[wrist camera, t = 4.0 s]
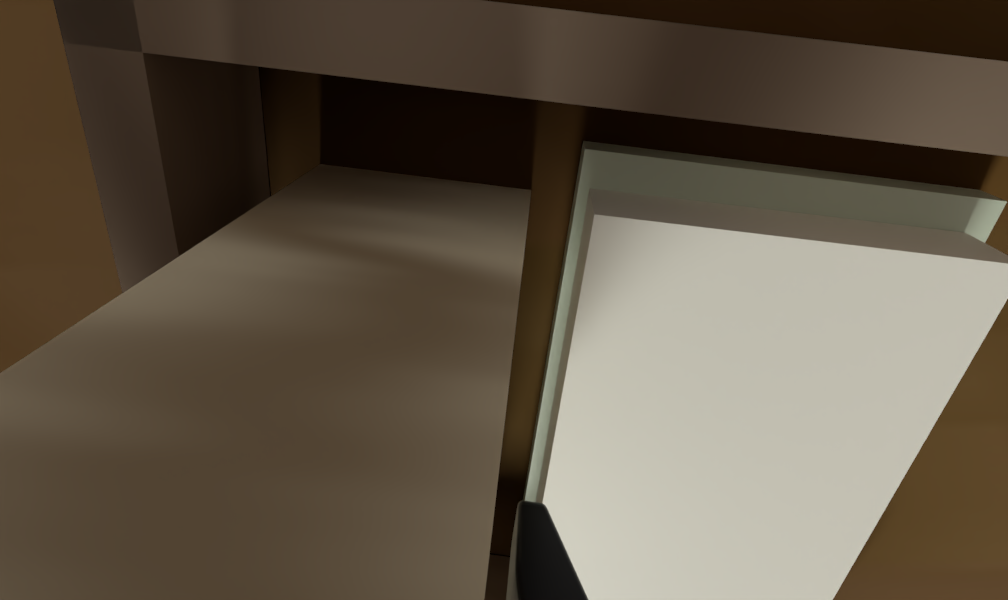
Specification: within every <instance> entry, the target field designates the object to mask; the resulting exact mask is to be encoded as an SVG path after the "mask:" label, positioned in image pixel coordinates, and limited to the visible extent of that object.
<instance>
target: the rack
mask: <svg viewBox="0 0 1008 600" xmlns="http://www.w3.org/2000/svg"><path fill="white" fill-rule="evenodd" d="M53 1H54V5H55V9H56V14H57V18H58V22H59V26H60V30H61V35H62V39H63V43H64V47H65V52H66V56H67V60H68V64H69V69H70V73H71V77H72V81H73V85H74V90H75V94H76V98H77V102H78V107H79V111H80V115H81V119H82V124H83V128H84V132H85V136H86V140H87V145H88V149H89V153H90V157H91V162H92V166H93V170H94V174H95V179H96V183H97V187H98V191H99V195H100V200H101V204H102V208H103V212H104V217H105V221H106V225H107V229H108V234H109V238H110V242H111V246H112V251H113V255H114V259H115V263H116V267H117V272H118V276H119V280H120V284H121V289H122V293H124V292H125V291H127V290H128V289H130V288H131V287H133V286H135V285H136V284H138V283H139V282H141V281H142V280H144V279H145V278H147V277H148V276H150V275H151V274H153V273H154V272H156V271H157V270H159V269H160V268H162V267H164V266H165V265H167V264H168V263H170V262H171V261H173V260H174V259H176V258H177V257H179V256H180V255H182V254H183V253H185V252H186V251H188V250H190V249H191V248H193V247H194V246H196V245H197V244H199V243H200V242H202V241H203V240H205V239H206V238H208V237H209V236H211V235H212V234H214V233H216V232H217V231H219V230H220V229H222V228H223V227H225V226H226V225H228V224H229V223H231V222H232V221H234V220H235V219H237V218H238V217H240V216H242V215H243V214H245V213H246V212H248V211H249V210H251V209H252V208H254V207H255V206H257V205H258V204H260V203H261V202H263V201H264V200H266V199H268V198H269V197H270V188H269V177H268V166H267V156H266V145H265V134H264V123H263V112H262V101H261V90H260V79H259V68H258V66H259V67H267V68H275V69H284V70H292V71H300V72H309V73H317V74H325V75H333V76H342V77H350V78H358V79H367V80H375V81H383V82H392V83H400V84H408V85H417V86H425V87H433V88H442V89H450V90H458V91H467V92H475V93H483V94H492V95H500V96H508V97H516V98H525V99H533V100H541V101H550V102H558V103H566V104H575V105H583V106H591V107H600V108H608V109H616V110H625V111H633V112H641V113H649V114H658V115H666V116H674V117H683V118H691V119H699V120H708V121H716V122H724V123H733V124H741V125H749V126H758V127H766V128H774V129H783V130H791V131H799V132H807V133H816V134H824V135H832V136H841V137H849V138H857V139H866V140H874V141H882V142H891V143H899V144H907V145H916V146H924V147H932V148H941V149H949V150H957V151H965V152H974V153H982V154H990V155H999V156H1007V157H1008V62H1007V61H998V60H990V59H981V58H972V57H964V56H955V55H947V54H938V53H930V52H921V51H913V50H904V49H895V48H887V47H878V46H870V45H861V44H853V43H844V42H836V41H827V40H818V39H810V38H801V37H793V36H784V35H776V34H767V33H759V32H750V31H741V30H733V29H724V28H716V27H707V26H699V25H690V24H681V23H673V22H664V21H656V20H647V19H639V18H630V17H622V16H613V15H604V14H596V13H587V12H579V11H570V10H562V9H553V8H545V7H536V6H527V5H519V4H510V3H502V2H493V1H485V0H53ZM509 564H510V557H505V556H498V555H490V554H489V563H488V572H487V580H486V589H485V598H484V600H506V595H507V585H508V574H509Z"/></svg>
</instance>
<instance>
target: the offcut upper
mask: <svg viewBox="0 0 1008 600" xmlns="http://www.w3.org/2000/svg"><path fill="white" fill-rule="evenodd" d="M1007 299H1008V255H1006V254H1004V253H1002V252H1000V251H998V250H997V249H995V248H993V247H991V246H989V245H987V244H986V243H984V242H982V241H980V240H978V239H976V238H974V237H973V236H971V235H969V234H967V233H965V232H957V231H948V230H940V229H931V228H923V227H914V226H906V225H897V224H889V223H880V222H872V221H863V220H855V219H846V218H838V217H829V216H821V215H812V214H804V213H795V212H787V211H778V210H770V209H761V208H753V207H744V206H736V205H727V204H719V203H710V202H702V201H693V200H685V199H676V198H668V197H659V196H651V195H642V194H634V193H625V192H617V191H608V190H600V189H591V188H589V193H588V199H587V205H586V211H585V216H584V222H583V228H582V234H581V240H580V246H579V251H578V257H577V263H576V269H575V275H574V281H573V286H572V292H571V298H570V304H569V310H568V315H567V321H566V327H565V333H564V339H563V345H562V350H561V356H560V362H559V368H558V374H557V380H556V385H555V391H554V397H553V403H552V409H551V415H550V420H549V426H548V432H547V438H546V444H545V449H544V455H543V461H542V467H541V473H540V479H539V484H538V490H537V496H536V502H539V503H543V504H544V505H545V506H546V507H547V509H548V511H549V513H550V516H551V518H552V520H553V522H554V524H555V527H556V529H557V531H558V533H559V536H560V538H561V540H562V542H563V544H564V547H565V549H566V551H567V553H568V555H569V558H570V560H571V562H572V564H573V567H574V569H575V571H576V573H577V575H578V578H579V580H580V582H581V584H582V586H583V589H584V591H585V593H586V595H587V598H588V600H833V598H834V596H835V595H836V593H837V591H838V590H839V588H840V586H841V584H842V583H843V581H844V579H845V578H846V576H847V574H848V572H849V571H850V569H851V567H852V565H853V564H854V562H855V560H856V559H857V557H858V555H859V553H860V552H861V550H862V548H863V547H864V545H865V543H866V541H867V540H868V538H869V536H870V535H871V533H872V531H873V529H874V528H875V526H876V524H877V522H878V521H879V519H880V517H881V516H882V514H883V512H884V510H885V509H886V507H887V505H888V504H889V502H890V500H891V498H892V497H893V495H894V493H895V492H896V490H897V488H898V486H899V485H900V483H901V481H902V479H903V478H904V476H905V474H906V473H907V471H908V469H909V467H910V466H911V464H912V462H913V461H914V459H915V457H916V455H917V454H918V452H919V450H920V449H921V447H922V445H923V443H924V442H925V440H926V438H927V436H928V435H929V433H930V431H931V430H932V428H933V426H934V424H935V423H936V421H937V419H938V418H939V416H940V414H941V412H942V411H943V409H944V407H945V406H946V404H947V402H948V400H949V399H950V397H951V395H952V393H953V392H954V390H955V388H956V387H957V385H958V383H959V381H960V380H961V378H962V376H963V375H964V373H965V371H966V369H967V368H968V366H969V364H970V363H971V361H972V359H973V357H974V356H975V354H976V352H977V350H978V349H979V347H980V345H981V344H982V342H983V340H984V338H985V337H986V335H987V333H988V332H989V330H990V328H991V326H992V325H993V323H994V321H995V320H996V318H997V316H998V314H999V313H1000V311H1001V309H1002V307H1003V306H1004V304H1005V302H1006V301H1007Z"/></svg>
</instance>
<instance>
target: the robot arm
mask: <svg viewBox="0 0 1008 600" xmlns="http://www.w3.org/2000/svg"><path fill="white" fill-rule="evenodd" d="M506 600H588V598H587V595H586V593H585V591H584V589H583V586H582V584H581V582H580V580H579V578H578V575H577V573H576V571H575V569H574V567H573V564H572V562H571V560H570V558H569V555H568V553H567V551H566V549H565V547H564V544H563V542H562V540H561V538H560V536H559V533H558V531H557V529H556V527H555V524H554V522H553V520H552V518H551V516H550V513H549V511H548V509H547V507H546V506H545V505H544V504H543V503H539V502H531V501H524V500H523V501H520V502H519V503H518V506H517V511H516V518H515V524H514V530H513V537H512V544H511V553H510V564H509V574H508V585H507V595H506Z"/></svg>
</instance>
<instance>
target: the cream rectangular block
mask: <svg viewBox="0 0 1008 600" xmlns="http://www.w3.org/2000/svg"><path fill="white" fill-rule="evenodd" d="M530 199H531V190H527V189H518V188H510V187H502V186H494V185H486V184H478V183H470V182H462V181H454V180H446V179H437V178H429V177H421V176H413V175H405V174H397V173H389V172H381V171H373V170H365V169H356V168H348V167H340V166H332V165H324V164H320V165H318V166H316V167H315V168H313V169H312V170H310V171H309V172H307V173H306V174H304V175H303V176H301V177H300V178H298V179H297V180H295V181H294V182H292V183H290V184H289V185H287V186H286V187H284V188H283V189H281V190H280V191H278V192H277V193H275V194H274V195H272V196H271V197H269V198H268V199H266V200H264V201H263V202H261V203H260V204H258V205H257V206H255V207H254V208H252V209H251V210H249V211H248V212H246V213H245V214H243V215H242V216H240V217H238V218H237V219H235V220H234V221H232V222H231V223H229V224H228V225H226V226H225V227H223V228H222V229H220V230H219V231H217V232H216V233H214V234H212V235H211V236H209V237H208V238H206V239H205V240H203V241H202V242H200V243H199V244H197V245H196V246H194V247H193V248H191V249H190V250H188V251H186V252H185V253H183V254H182V255H180V256H179V257H177V258H176V259H174V260H173V261H171V262H170V263H168V264H167V265H165V266H164V267H162V268H160V269H159V270H157V271H156V272H154V273H153V274H151V275H150V276H148V277H147V278H145V279H144V280H142V281H141V282H139V283H138V284H136V285H135V286H133V287H131V288H130V289H128V290H127V291H125V292H124V293H122V294H121V295H119V296H118V297H116V298H115V299H113V300H112V301H110V302H109V303H107V304H105V305H104V306H102V307H101V308H99V309H98V310H96V311H95V312H93V313H92V314H90V315H89V316H87V317H86V318H84V319H83V320H81V321H79V322H78V323H76V324H75V325H73V326H72V327H70V328H69V329H67V330H66V331H64V332H63V333H61V334H60V335H58V336H57V337H55V338H53V339H52V340H50V341H49V342H47V343H46V344H44V345H43V346H41V347H40V348H38V349H37V350H35V351H34V352H32V353H31V354H29V355H27V356H26V357H24V358H23V359H21V360H20V361H18V362H17V363H15V364H14V365H12V366H11V367H9V368H8V369H6V370H5V371H3V372H1V373H0V600H484V598H485V589H486V580H487V572H488V563H489V554H490V546H491V537H492V528H493V520H494V511H495V502H496V494H497V485H498V476H499V468H500V459H501V450H502V442H503V433H504V424H505V416H506V407H507V398H508V390H509V381H510V372H511V364H512V355H513V346H514V338H515V329H516V320H517V312H518V303H519V294H520V286H521V277H522V268H523V260H524V251H525V242H526V234H527V225H528V216H529V208H530Z"/></svg>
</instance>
